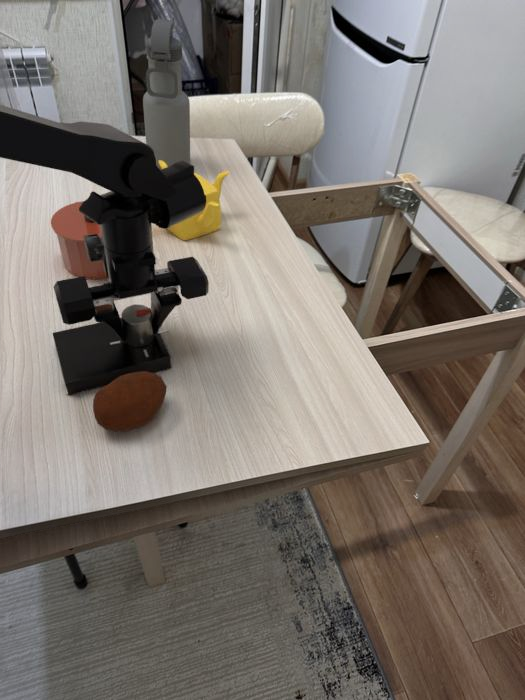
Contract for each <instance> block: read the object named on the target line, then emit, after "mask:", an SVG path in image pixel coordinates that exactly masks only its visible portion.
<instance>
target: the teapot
mask: <svg viewBox="0 0 525 700" xmlns="http://www.w3.org/2000/svg"><path fill="white" fill-rule="evenodd" d="M158 162H159V164H160V167H161V169H164V168H167V167H168V166H167V164H166V163H165V162H164V161H162V160H159V161H158ZM229 174H230V170H223V171H221V172H219V173H218V175H217V176H216V177H215V179H214V181H213V184H211V182H209V181H208V180H207V179H205V178H204V177H203V176H202V175H200V174H198V173H196V172H195V171H194V175H195V176H196V177H197V178H198V180H199V181H200V183H201V185H202V188H203V190H204V194H205V195H206V206H205V209H204V210H203V211H202V212H201V213H199V214H197V215H195V216H192V217H190V218H188V219H186V220H184V221H182V222H180V223H177V224H175V225H173V226H171V227H169V228H167V231H169V232H170V233H172V234H173V235H174V236H176V237H177V238H179V239H180V240H182V241H189V240H192V239H196V238H199V237H202V236H205V235H207V234H211V233H214V232H216V231H218V230H219V229H220V227H221V223H222V211H221V200H220V198H221V192H222V185H223V181H224V180H225V178H226V177H227V176H228V175H229Z"/></svg>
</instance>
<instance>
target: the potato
mask: <svg viewBox="0 0 525 700" xmlns="http://www.w3.org/2000/svg"><path fill="white" fill-rule="evenodd" d="M167 389H168V386H167V385H166V383H165V381H164V379H163V377H162V376H160V375H159V374H157V373H151V372H146V371H141V372H134V373H128V374H125V375H122V376H120V377H118V378H117V379H115V380H114V381H112V382H111V383H110V384H108V385H106V386H103V387H100V388H99V389H98V390H97V391H96V392H95V394H94V396H93V403H92V408H93V410H92V411H93V415H94V419H95V421H96V423H97V424H98V425H99V426H100V427H102V428H103V429H104V430H106V431H110V432H126V431H131V430H134V429H137V428H140V427H144V426H146V425H147V424H149V423H150V422H152V420H153V419H155V417H156V416H157V415H158V413H159V412H160V410H161V408H162V405H163V403H164V401H165V398H166V394H167Z"/></svg>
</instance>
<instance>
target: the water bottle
mask: <svg viewBox="0 0 525 700" xmlns="http://www.w3.org/2000/svg"><path fill="white" fill-rule="evenodd" d="M174 24H175V23H174V21H173V20H171V19H167V18H158V19H155V20H154V22H153V24H152V26H151V32H150V37H149V38H147V39H146V40H145V46H146V47H145V48H146V59H147V63H148V68H147V70H146V72H145V81H146V92H145V93H143V98H142V107H143V120H144V132H145V144H147V145H148V146H150V147H151V148H152V149H153V150H154V155H155V158H156V166H157V167H158V168H159V169H160V170H161V167H160V164H159V162H158V161H159V160H162V161H164V162H165V163H166V164H167V166H168V167H169V166H171V165H173V164H174V163H176V162H178V161H181V160H183V161H185V162H187V163H189V164H191V104H190V98H189V97H188V95H187V93H186V92H184V91H183V90H182V89H183V87H182V86H183V85H182V84H183V83H182V82H183V81H182V62H183V43H182V42H181V40H179V39H178V38H175V37H173V36H174V35H173V30H174V29H175V25H174Z"/></svg>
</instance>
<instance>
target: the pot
mask: <svg viewBox="0 0 525 700" xmlns="http://www.w3.org/2000/svg"><path fill="white" fill-rule="evenodd" d="M76 202H77V201H75V202H74V203H76ZM55 235H56V239H57V242H58V246H59V251H60V255H61V259H62V263H63V266H64V268H65V270H66V271H67V272H68V273H70V274H71V275H72V276H74V277H76V278H77V277H83V276H85V278H86V280H104V279H109V276H108V277H106V274H105V272H104V266H103V260H99V261H93V262H91V261H90V260H89V258H88V256H87V252H86V247H85V243H78V242H73V241H69V240H66V239H63V238H61V237H60V236H58V235H57V234H56V233H55Z"/></svg>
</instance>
